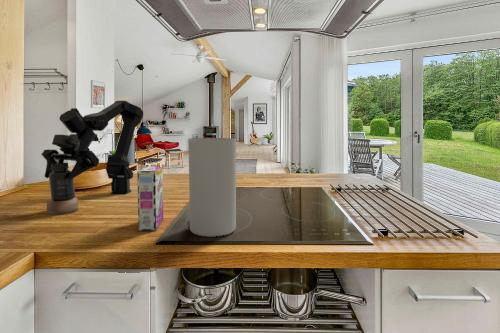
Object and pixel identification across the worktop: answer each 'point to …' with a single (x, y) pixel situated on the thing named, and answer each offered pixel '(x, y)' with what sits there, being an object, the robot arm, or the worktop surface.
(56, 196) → the supplement bottle
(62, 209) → the walnut plinth
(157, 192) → the candy bar box
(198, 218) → the cylinder vase
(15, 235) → the worktop surface
